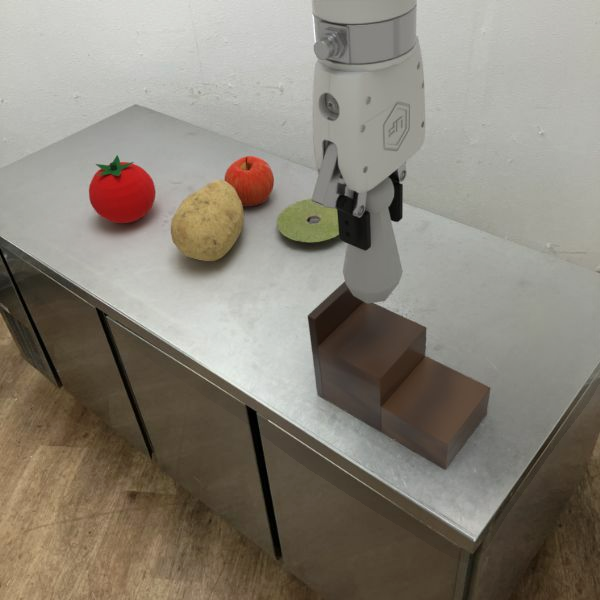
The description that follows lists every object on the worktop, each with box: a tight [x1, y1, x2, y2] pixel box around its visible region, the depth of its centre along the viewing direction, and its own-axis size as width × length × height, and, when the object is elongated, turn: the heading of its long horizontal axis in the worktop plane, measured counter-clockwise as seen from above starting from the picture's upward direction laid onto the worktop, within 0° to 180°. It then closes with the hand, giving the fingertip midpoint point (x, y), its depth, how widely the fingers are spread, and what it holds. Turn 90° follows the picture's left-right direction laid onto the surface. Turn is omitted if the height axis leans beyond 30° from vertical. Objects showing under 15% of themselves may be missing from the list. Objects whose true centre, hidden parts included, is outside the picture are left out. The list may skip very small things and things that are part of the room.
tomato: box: [88, 154, 156, 224], centre depth 104 cm, size 10×10×10 cm
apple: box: [223, 155, 275, 207], centre depth 104 cm, size 8×8×8 cm
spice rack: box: [307, 280, 492, 470], centre depth 69 cm, size 17×9×13 cm, turn 50°
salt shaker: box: [342, 177, 404, 304], centre depth 61 cm, size 6×6×13 cm
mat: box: [276, 197, 339, 243], centre depth 99 cm, size 11×11×2 cm
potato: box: [170, 179, 245, 262], centre depth 95 cm, size 10×14×10 cm
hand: (371, 228), depth 60 cm, fingers closed on salt shaker, 4 cm apart
